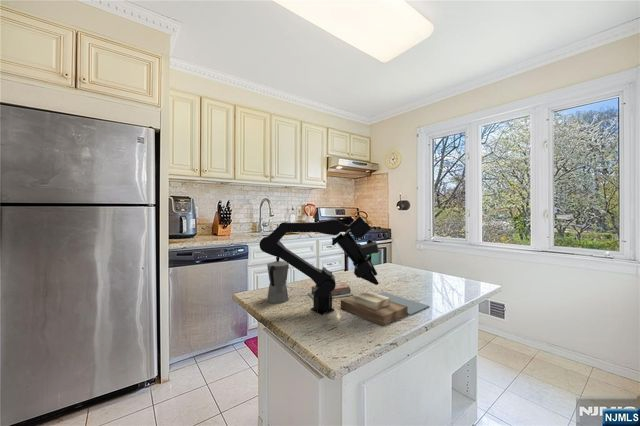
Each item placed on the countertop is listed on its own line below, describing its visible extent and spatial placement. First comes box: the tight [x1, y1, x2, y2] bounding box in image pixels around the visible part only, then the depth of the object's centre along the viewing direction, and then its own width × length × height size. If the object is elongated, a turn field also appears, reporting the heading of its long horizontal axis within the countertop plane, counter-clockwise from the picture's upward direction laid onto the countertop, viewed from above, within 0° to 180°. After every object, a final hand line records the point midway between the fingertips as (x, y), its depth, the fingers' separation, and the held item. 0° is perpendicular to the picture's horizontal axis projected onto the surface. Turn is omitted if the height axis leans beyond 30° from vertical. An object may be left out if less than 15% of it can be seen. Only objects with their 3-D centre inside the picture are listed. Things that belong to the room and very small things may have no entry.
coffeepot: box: [266, 256, 290, 304], centre depth 109 cm, size 15×9×18 cm, turn 172°
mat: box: [377, 291, 430, 317], centre depth 106 cm, size 13×22×1 cm, turn 39°
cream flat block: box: [354, 291, 390, 310], centre depth 97 cm, size 8×10×2 cm
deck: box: [340, 295, 409, 327], centre depth 97 cm, size 14×20×3 cm
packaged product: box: [307, 282, 354, 300], centre depth 116 cm, size 18×5×10 cm
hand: (377, 279), depth 97 cm, fingers open, 9 cm apart
